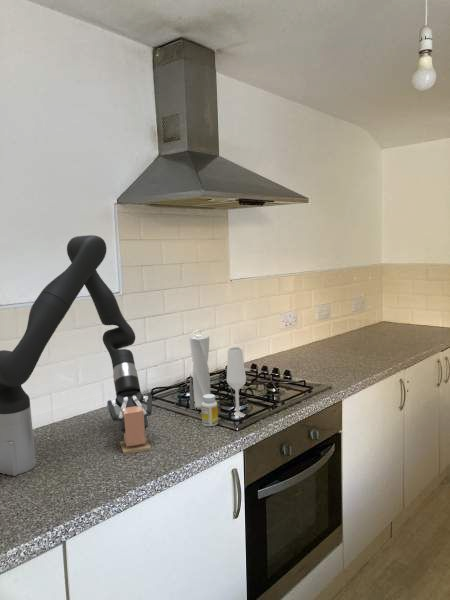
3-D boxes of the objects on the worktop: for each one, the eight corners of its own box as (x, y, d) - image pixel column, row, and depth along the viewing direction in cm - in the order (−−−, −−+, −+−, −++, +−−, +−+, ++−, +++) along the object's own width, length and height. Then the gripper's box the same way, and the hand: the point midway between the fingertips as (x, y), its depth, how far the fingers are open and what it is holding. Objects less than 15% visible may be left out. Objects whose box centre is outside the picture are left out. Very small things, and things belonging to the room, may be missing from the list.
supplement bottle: (202, 427, 162) (201, 399, 161) (201, 421, 168) (200, 393, 167) (219, 426, 163) (217, 397, 162) (217, 420, 168) (216, 392, 167)
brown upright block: (145, 443, 147) (143, 410, 146) (126, 446, 146) (124, 413, 144) (142, 436, 153) (140, 405, 151) (124, 439, 151) (121, 407, 150)
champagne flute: (244, 421, 166) (242, 351, 163) (225, 419, 168) (222, 350, 165) (249, 414, 172) (247, 346, 169) (231, 412, 174) (228, 346, 171)
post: (150, 449, 147) (149, 424, 146) (123, 454, 144) (121, 428, 143) (146, 439, 154) (144, 415, 153) (120, 444, 152) (118, 419, 151)
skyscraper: (192, 401, 188) (188, 329, 184) (213, 401, 188) (209, 328, 184) (189, 409, 180) (185, 333, 176) (212, 408, 179) (208, 332, 176)
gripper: (103, 377, 151) (110, 428, 142) (149, 371, 156) (160, 420, 146) (102, 389, 157) (109, 439, 147) (147, 383, 162) (157, 431, 152)
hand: (134, 429), depth 147 cm, fingers closed on brown upright block, 5 cm apart
